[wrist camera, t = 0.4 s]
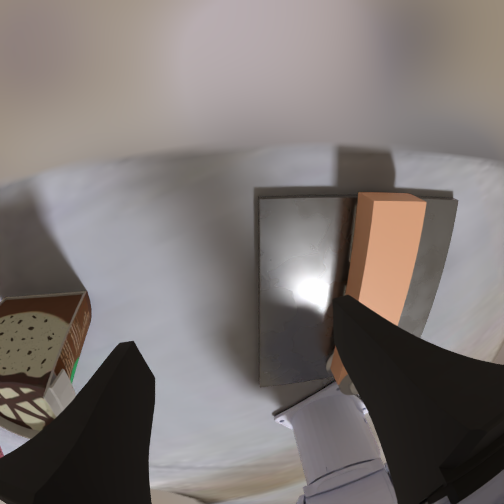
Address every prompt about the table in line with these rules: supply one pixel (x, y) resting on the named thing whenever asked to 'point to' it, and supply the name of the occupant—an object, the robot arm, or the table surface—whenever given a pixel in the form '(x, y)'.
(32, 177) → the table surface
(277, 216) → the label plate
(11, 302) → the food container
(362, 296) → the swing bar
